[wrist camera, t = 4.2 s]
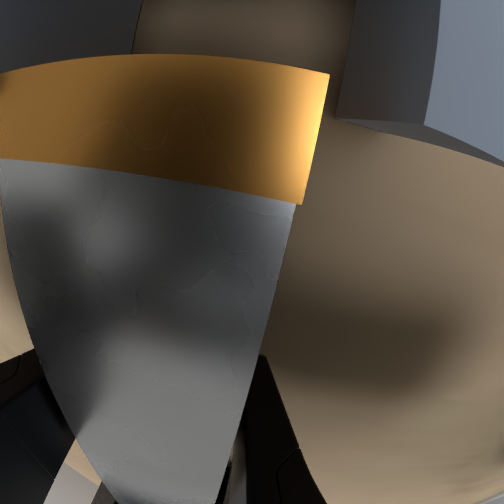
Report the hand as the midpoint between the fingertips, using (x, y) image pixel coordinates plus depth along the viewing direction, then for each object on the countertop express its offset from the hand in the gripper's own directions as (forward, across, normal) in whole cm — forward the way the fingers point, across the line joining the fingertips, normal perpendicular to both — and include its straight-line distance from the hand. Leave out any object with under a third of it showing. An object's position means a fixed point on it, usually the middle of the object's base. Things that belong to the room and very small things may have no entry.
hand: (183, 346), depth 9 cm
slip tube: (+1, 0, +4) cm, 4 cm away
